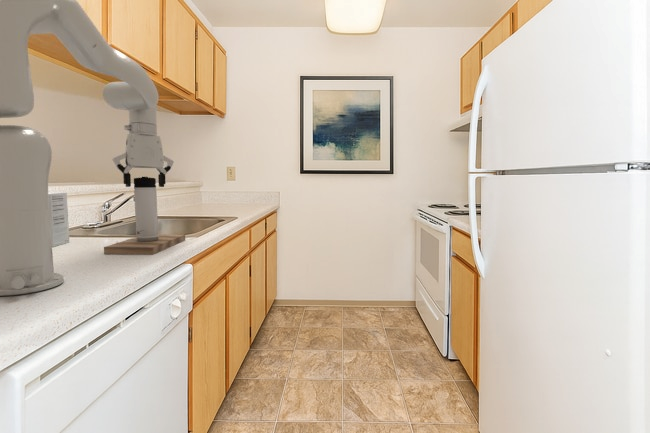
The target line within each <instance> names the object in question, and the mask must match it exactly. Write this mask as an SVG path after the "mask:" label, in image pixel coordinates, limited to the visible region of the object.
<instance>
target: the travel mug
mask: <svg viewBox="0 0 650 433" xmlns="http://www.w3.org/2000/svg"><path fill="white" fill-rule="evenodd" d="M156 180H157V179H156V178H155V177H149V176H141V177H134V178H133V189H134V190H133V193H134V195H133V197H134V215H135V216H134V217H135V233H136V234H135V235H136V236H135V237H136V238H137V241H139V242H150V241H156V240H158V239H159V238H158V234H159V224H158V223H159V221H158V220H159V218H158V199H157V198H158V196H157V185H156V184H157V182H156Z"/></svg>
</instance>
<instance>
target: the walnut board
mask: <svg viewBox="0 0 650 433" xmlns="http://www.w3.org/2000/svg"><path fill="white" fill-rule="evenodd" d="M158 238H159V239H158V240H156V241H150V242H139V241H137V238H136V236H135V237H132V238H129V239H126V240H122V241H120V242H116V243H112V244H110V245H106V246H104V247H103V254H104V255H151V256H153V255H155V254H157V253H159V252H161V251H164V250H166V249H169V248H172V247H174V246H176V245H178V244H180V243H183V242H185V241H186V234H173V233H172V234H163V233H162V234H159V233H158Z"/></svg>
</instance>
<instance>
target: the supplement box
mask: <svg viewBox="0 0 650 433" xmlns="http://www.w3.org/2000/svg"><path fill="white" fill-rule="evenodd" d="M48 199H49V212H50V226H51V240H52V248H54V247H57V246H61V245H65V244H68V243H70V231H69V230H70V228H69V227H70V226H69V212H68V210H69V209H68V193H67V192H49V191H48Z"/></svg>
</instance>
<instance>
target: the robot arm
mask: <svg viewBox="0 0 650 433" xmlns="http://www.w3.org/2000/svg"><path fill="white" fill-rule="evenodd" d="M48 34H51V35H54V36H55V37H56V39H58V41H60V42H61V44H62V45H63V46H64V48H66V50H67V51H68V52H69V53H70V54H71V55H72V56H73V58H74V59H75V60H76V61H77V63H78V64H80V65H81V66H82V67H84V68H85V69H88V70H91V71H93V72H97V73H99V74H102V75H106V76H108V77H109V76H110V77H113V78H116V79H118V80H120V81H112V82H108V83H107V84H105V85H104V86H103V89H102V98H103V100H104V101H105V103H106V104H107V105H108V106H109V107H111V108H113V109H116V110H123V111H128V117H129V118H128V119H129V121H128V122H129V123H128V124H127V125H123V128H124V130H125V131H128V132H129V133H128V134H127V136H126V142H125V152H124V153H122V154H120V155H117V156H115V157H113V158H112V162H113V163H114V164H115V167H116V168H117V169H118V170H119V171H120V172H121V173H122V174H123V176H122V177H123V184H124V185H125V187H126V188H131V186H132V182H131V181H132V178H131V173H130V171H131V170H132V169H134V168H138V169H156V171H157V172H158V173H159V174H158V176H157V177H158V187H159V188H164V187H165V185H166V174H168V172H169V171H170V170H171V169H172V167H173V164H174V160H172V159H171V158H169V157H167V156H166V155H164V151H163V143H162V140H161V135H158V129H157V128H158V126H157V125H158V124H157V123H158V122H157V105H158V103H159V100H160V99H159V97H160V96H159V92H158V90H157V87H156V85H155V83H154V82H153V80H152V78H151V77H150V75H149V73H148V72H147V71H146V69H145V68H143V67H142V65H140V64H139V63H138V62H137V61H135V60H134V59H132V58H130V57H129V56H127V55H126V54H124V53H122V52H121V51H119V50H118V49H116V48H114V47H112V46H111V45H110V44H109V43H108V41H106V39H105V37H104V36H103V34H101V32H100V31H99V29H98V28H97V26H96V25H95V24H94V22H93V21H92V19H91V18H90V17H89V16H88V14H87V12H86V11H85V9H84V8H83V7H82V5H81V4H80V3H79V1H78V0H0V119H10V118H11V119H13V118H14V119H15V118H21V117H25V116H28V115H29V114H31V112H32V111H33V110H34V106H35V94H34V87H33V79H32V73H31V65H30V59H29V48H28V46H29V45H28V43H29V39H30V36H31V35H48ZM52 155H53V152H52V148H51V143H50V142H49V140H48V138H46V136H45V135H44V134H42V133H41V132H40V131H38V130H36V129H34V128H32V127H29V126H24V125H12V124H11V125H10V124H6V125H5V124H3V125H0V296H5V297H6V296H15V295H16V296H17V295H25V294H31V293H36V292H37V293H38V292H42V291H45V290H49V289H52V288H55V287H58V286H59V285H61V284H62V283H64V275H62V274H60V273H55V271H54V267H55V266H54V256H53V247H52V240H51V226H50V212H49V199H48V192H49V180H50V179H49V177H50V169H51V164H52V158H53V156H52ZM123 159H124V160H125V163H124V164H125V166H123V164H122V163H121V160H123ZM164 163H166V165H165V164H164ZM164 166H165V167H164Z"/></svg>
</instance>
